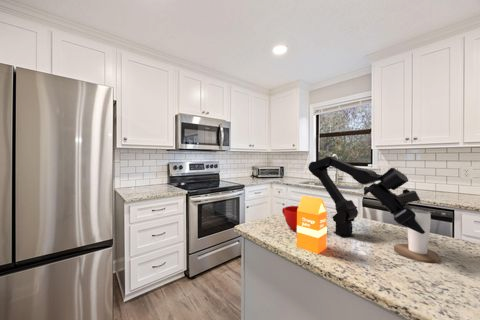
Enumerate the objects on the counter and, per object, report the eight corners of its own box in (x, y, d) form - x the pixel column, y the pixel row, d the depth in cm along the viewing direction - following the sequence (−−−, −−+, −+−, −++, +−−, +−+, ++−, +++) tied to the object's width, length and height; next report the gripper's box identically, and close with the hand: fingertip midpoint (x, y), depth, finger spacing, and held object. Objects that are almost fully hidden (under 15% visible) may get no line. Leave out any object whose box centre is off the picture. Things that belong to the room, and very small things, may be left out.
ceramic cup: (291, 221, 114) (291, 203, 114) (316, 230, 100) (317, 210, 100) (273, 225, 108) (273, 206, 108) (298, 235, 93) (298, 214, 93)
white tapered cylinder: (435, 256, 72) (435, 214, 72) (413, 255, 73) (414, 213, 73) (421, 248, 79) (421, 209, 78) (401, 247, 80) (402, 208, 79)
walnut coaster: (420, 264, 69) (420, 261, 69) (385, 247, 81) (385, 245, 81) (450, 260, 71) (450, 257, 71) (411, 244, 84) (411, 242, 84)
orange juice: (305, 241, 87) (306, 194, 87) (326, 247, 81) (327, 197, 81) (296, 246, 82) (296, 196, 82) (317, 254, 76) (318, 200, 75)
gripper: (406, 185, 70) (451, 223, 64) (400, 180, 86) (435, 210, 80) (378, 205, 75) (418, 242, 69) (377, 197, 90) (409, 227, 84)
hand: (421, 229), depth 75 cm, fingers open, 9 cm apart
